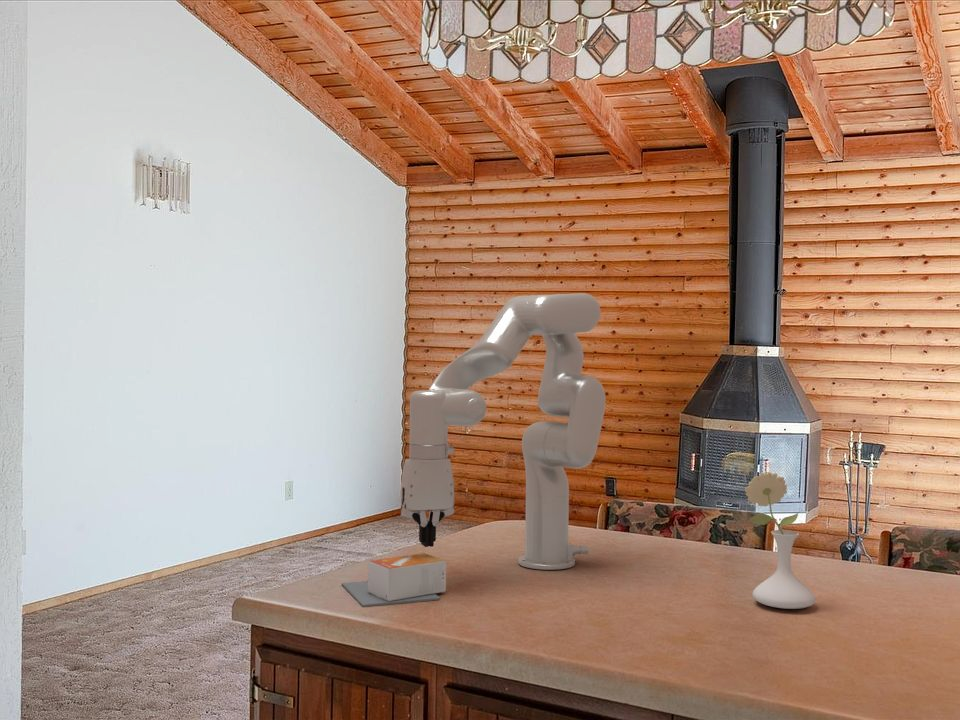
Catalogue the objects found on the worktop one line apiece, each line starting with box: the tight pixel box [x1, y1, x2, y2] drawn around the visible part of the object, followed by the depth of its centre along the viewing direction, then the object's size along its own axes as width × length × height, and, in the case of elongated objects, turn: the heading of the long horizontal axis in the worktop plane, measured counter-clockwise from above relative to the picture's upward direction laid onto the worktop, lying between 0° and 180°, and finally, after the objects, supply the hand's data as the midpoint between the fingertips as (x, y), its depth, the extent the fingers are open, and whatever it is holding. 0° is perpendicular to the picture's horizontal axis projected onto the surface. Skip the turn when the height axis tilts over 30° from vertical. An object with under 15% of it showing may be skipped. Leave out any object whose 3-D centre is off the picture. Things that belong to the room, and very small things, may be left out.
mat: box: [341, 580, 441, 608], centre depth 185 cm, size 15×17×1 cm
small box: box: [367, 552, 447, 601], centre depth 183 cm, size 8×6×13 cm
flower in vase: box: [744, 471, 817, 610], centre depth 178 cm, size 13×11×25 cm
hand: (427, 545), depth 187 cm, fingers closed
